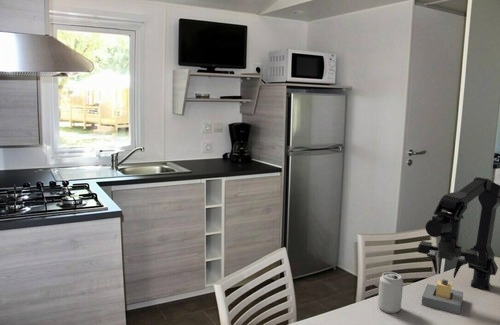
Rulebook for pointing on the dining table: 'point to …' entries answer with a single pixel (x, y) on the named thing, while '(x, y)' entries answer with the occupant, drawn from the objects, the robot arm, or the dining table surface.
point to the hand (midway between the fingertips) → (445, 275)
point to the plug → (443, 289)
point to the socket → (442, 300)
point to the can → (390, 292)
